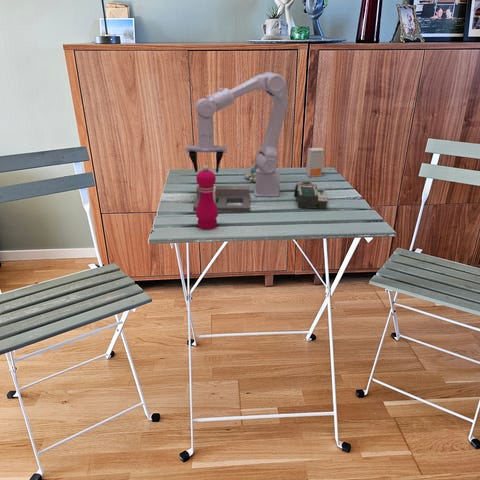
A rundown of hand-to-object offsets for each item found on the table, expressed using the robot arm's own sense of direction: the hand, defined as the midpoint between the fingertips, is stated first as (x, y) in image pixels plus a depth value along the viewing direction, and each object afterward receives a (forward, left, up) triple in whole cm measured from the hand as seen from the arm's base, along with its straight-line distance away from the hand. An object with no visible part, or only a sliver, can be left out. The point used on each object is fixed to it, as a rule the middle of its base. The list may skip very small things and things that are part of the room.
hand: (206, 171), depth 149 cm
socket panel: (-6, +5, -10) cm, 13 cm away
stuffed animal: (-19, -24, -11) cm, 33 cm away
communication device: (-39, -2, -11) cm, 40 cm away
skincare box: (-45, -30, -11) cm, 55 cm away
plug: (-2, +7, -10) cm, 13 cm away
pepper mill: (-2, +25, -11) cm, 27 cm away
